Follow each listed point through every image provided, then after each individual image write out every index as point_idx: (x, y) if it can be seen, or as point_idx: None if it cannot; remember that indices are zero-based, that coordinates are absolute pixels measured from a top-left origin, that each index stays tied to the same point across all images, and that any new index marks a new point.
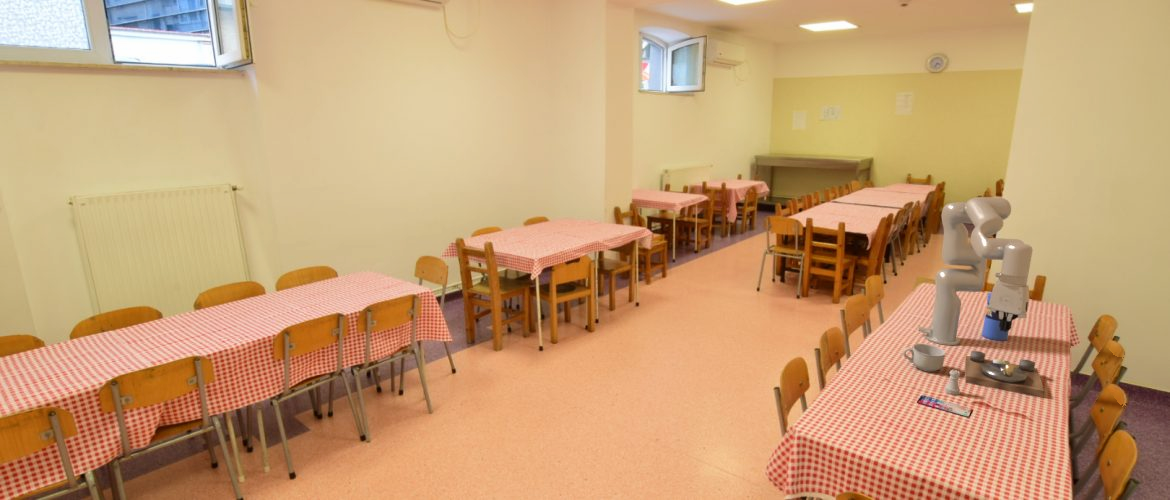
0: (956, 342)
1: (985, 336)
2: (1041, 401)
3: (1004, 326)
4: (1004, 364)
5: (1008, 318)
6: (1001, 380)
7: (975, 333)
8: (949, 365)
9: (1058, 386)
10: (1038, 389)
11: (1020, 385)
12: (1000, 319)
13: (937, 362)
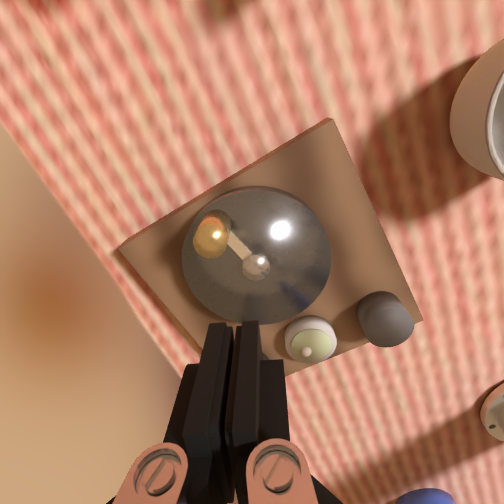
0: (489, 407)
1: (441, 494)
2: (110, 206)
3: (214, 361)
4: (285, 319)
5: (167, 495)
6: (226, 192)
7: (469, 498)
8: (438, 227)
9: (167, 352)
10: (133, 245)
11: (177, 224)
12: (288, 444)
13: (481, 74)
